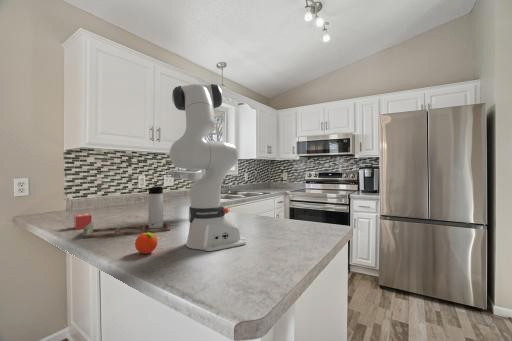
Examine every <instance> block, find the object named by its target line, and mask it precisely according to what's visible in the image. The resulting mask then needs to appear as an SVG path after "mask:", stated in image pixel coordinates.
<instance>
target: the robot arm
mask: <svg viewBox="0 0 512 341" xmlns="http://www.w3.org/2000/svg"><path fill="white" fill-rule="evenodd" d="M171 99H172V104H173V105H174V106H175V109H177V110H179V111H184V112H185V124H186V125H185V127H186V128H185V131H184V132H183V135H182V136H181V137H179V138H178V139H177V140H175V141H174V142H173V143H172V144H171V146H170V149H169V159H170V162H171V163H172V165H173V166H174V167H175V168H178V169H173V170H168V172H167V173H166V174H165V178H173V179H179V180H181V179H182V180H183V179H184V180H188V181H189V182H192V184H191V187H190V194H189V195H190V200H189V201H190V206H189V208H188V209H189V210H188V220H189V221H188V222H189V229H188V234H187V240H186V243H185V246H186V247H187V248H189V249H193V250H202V251H207V252H213V251H219V250H224V249H229V248H234V247H238V246H239V247H241V246H243V245H246V244H247V239H246V237H245V236H244V235H241V231H240V228H239V225H238V224H236V223H235V222H234V221H233V220H232V219H231V218H230V217H228V216H226V214H229V213H230V209H229V208H228V207H224V206H222V205H221V192H222V185H223V182H224V178H225V177H226V175H227V174H228V173H229V171H230V170H231V169H232V168H234V167H235V166H236V164H237V162H238V159H239V151H238V149H237V146H235V144H233V143H230V142H227V141H226V142H225V141H222V140H206V139H205V137H206V136H208V135H210V134H211V133H213V132H214V130H215V128H216V118H215V112H214V111H215V110H214V109H217V108H219V107H221V106H222V104H223V101H224V94H223V90H222V89H221V87H220V86H219V85H218V84H214V83H210V84H207V83H205V84H203V83H201V84H198V83H197V84H196V83H195V84H194V83H193V84H188V85H178V86H175V87H174V88H173V89H172V95H171ZM179 168H180V169H179Z"/></svg>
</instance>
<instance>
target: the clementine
mask: <svg viewBox="0 0 512 341" xmlns="http://www.w3.org/2000/svg"><path fill="white" fill-rule="evenodd" d="M157 246H158V238H157V235H155V234H154V232H151V233H150V232H146V233H140V234H139V235H138V236H136V240H135V243H134V247H135V249H136V250H137V252H139V253H140V254H143V255H146V254H150V253H152V252H153V251H155V250H156V248H157Z"/></svg>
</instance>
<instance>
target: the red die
mask: <svg viewBox="0 0 512 341" xmlns="http://www.w3.org/2000/svg"><path fill="white" fill-rule="evenodd" d="M90 223H92V214H90V213H82V214H81V213H80V214H73V228H74V230H75V231H77V230H84V228H85V227H86V226H87V225H88V224H90Z"/></svg>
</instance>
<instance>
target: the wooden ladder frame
mask: <svg viewBox="0 0 512 341" xmlns="http://www.w3.org/2000/svg"><path fill="white" fill-rule="evenodd" d="M164 227H166V228H164ZM146 228H149V224H143V225H129V226H127V225H126V226H115V227H102V228H95V224H94V222H91V223H90V224H88V225H87V226H86V227H85V228H84V229H83V239H93V238H103V237H104V238H105V237H106V238H107V237H117V236H125V235H136V234H137V235H138V234H139V235H140V234H142V233H146V232H150V233H159V232H160V233H161V232H170V231H171V227H170V224H169V222H168V223H163V229H152V230H149V229H146ZM134 229H141V230H134ZM121 230H129V231H121ZM105 231H106V232H107V233H98V232H105ZM109 231H114V232H109ZM120 231H121V232H120ZM95 232H97V233H96V234H93V233H95Z"/></svg>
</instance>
